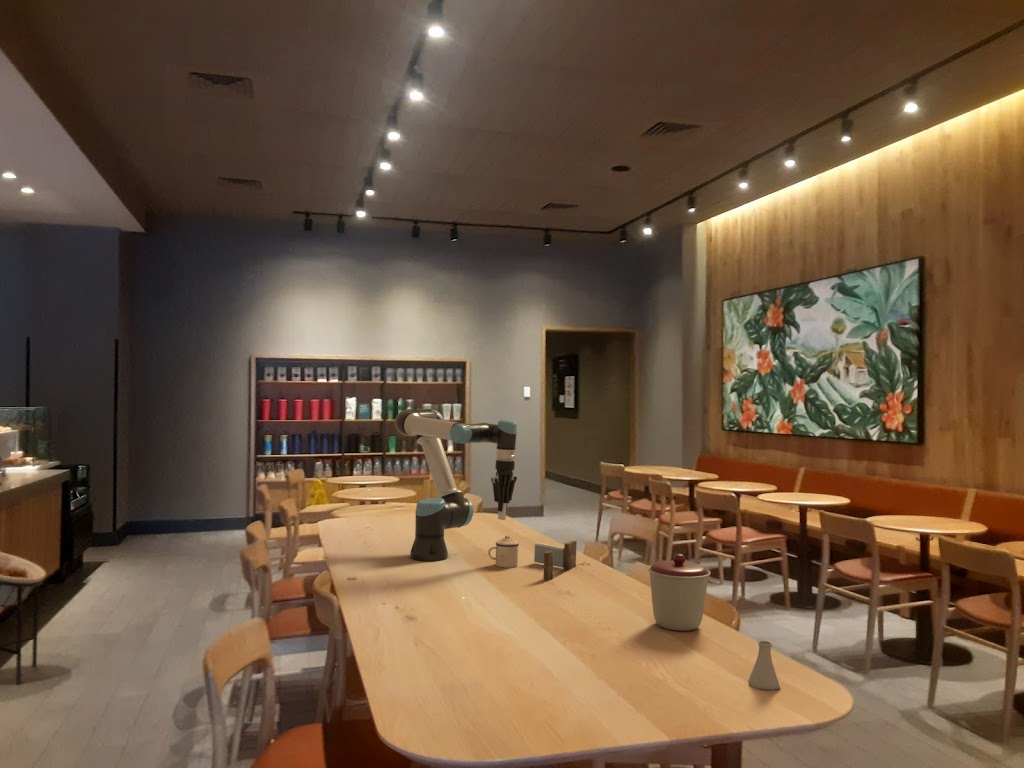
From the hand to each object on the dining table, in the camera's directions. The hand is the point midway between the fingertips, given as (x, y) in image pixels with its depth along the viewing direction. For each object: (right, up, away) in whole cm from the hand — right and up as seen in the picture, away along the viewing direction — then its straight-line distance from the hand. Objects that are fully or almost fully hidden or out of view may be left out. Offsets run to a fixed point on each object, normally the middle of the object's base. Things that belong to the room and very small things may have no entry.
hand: (501, 519), depth 301 cm
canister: (+53, -18, -77) cm, 95 cm away
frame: (+22, -18, -14) cm, 32 cm away
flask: (+63, -17, -122) cm, 139 cm away
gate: (+19, -17, -2) cm, 26 cm away
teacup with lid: (+1, -18, -3) cm, 18 cm away
